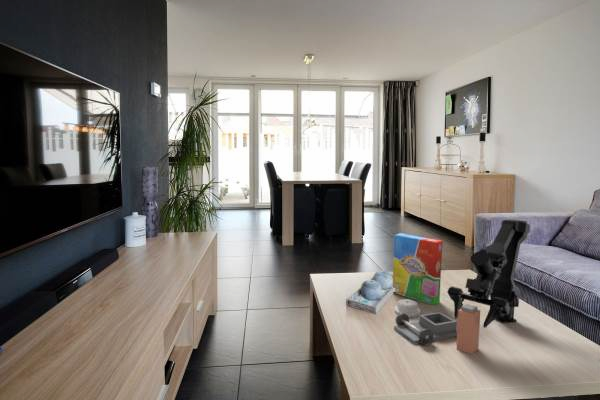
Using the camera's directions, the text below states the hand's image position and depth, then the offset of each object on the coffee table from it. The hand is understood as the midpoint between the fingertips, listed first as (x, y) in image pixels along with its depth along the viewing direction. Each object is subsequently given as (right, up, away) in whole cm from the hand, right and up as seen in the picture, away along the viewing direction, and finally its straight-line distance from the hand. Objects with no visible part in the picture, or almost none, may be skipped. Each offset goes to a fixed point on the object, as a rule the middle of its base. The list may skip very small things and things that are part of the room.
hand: (469, 322), depth 126 cm
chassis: (-8, -7, +13) cm, 17 cm away
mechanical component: (-12, -6, +31) cm, 33 cm away
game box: (-4, -4, +46) cm, 47 cm away
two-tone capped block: (0, -9, +1) cm, 9 cm away
